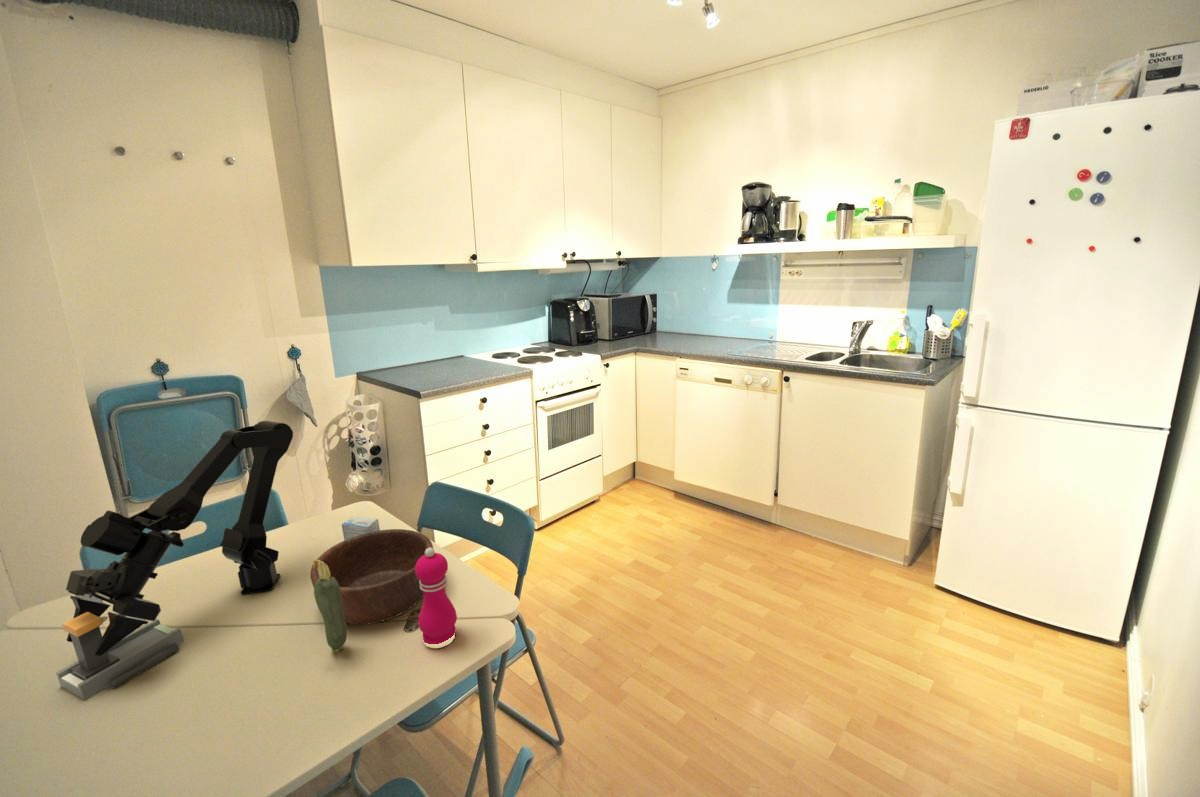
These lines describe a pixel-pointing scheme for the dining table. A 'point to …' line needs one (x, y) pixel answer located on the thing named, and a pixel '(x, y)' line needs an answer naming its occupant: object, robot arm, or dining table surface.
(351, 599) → the wooden bowl
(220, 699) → the dining table surface
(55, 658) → the dining table surface
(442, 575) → the pepper mill
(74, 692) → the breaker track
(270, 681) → the dining table surface
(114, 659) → the orange-capped post
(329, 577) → the vegetable
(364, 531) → the medicine box
